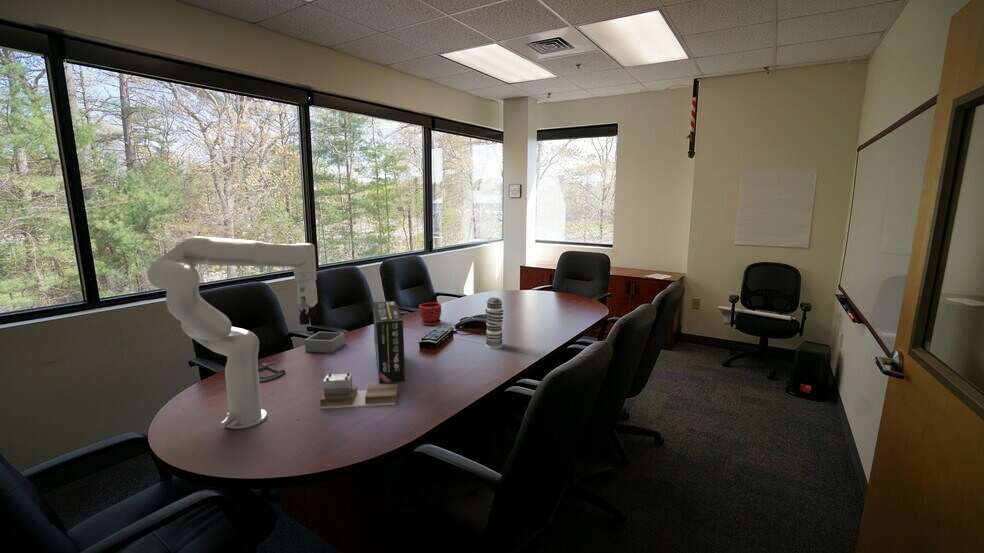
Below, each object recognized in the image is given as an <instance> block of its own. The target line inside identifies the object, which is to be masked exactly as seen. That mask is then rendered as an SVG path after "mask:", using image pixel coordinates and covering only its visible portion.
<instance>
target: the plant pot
mask: <svg viewBox="0 0 984 553" xmlns="http://www.w3.org/2000/svg"><path fill="white" fill-rule="evenodd" d="M418 310H419V316H420V318H421V324H423V325H424V326H429V327H430V326H436V325H439V324H440V323H441V322H442V320H441V315H442V304H441V303H440V302H426V303H422V304H419V306H418Z"/></svg>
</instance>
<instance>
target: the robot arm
mask: <svg viewBox="0 0 984 553" xmlns="http://www.w3.org/2000/svg"><path fill="white" fill-rule="evenodd" d="M316 261H317V260H316V247H315V244H313V243H310V242H298V243H294V244H293V243H292V244H291V243H290V244H289V243H288V244H286V243H272V242H271V243H270V242H265V241H264V242H263V241H258V240H251V239H237V238H222V237H209V236H208V237H206V236H196V235H195V236H191V237H188V238H186V239H184V240H183V241H182V242H180V243H179V244H177V245H175V246H174V247H173V248H171V249H170V250H169V251H168V252H166V253H165V254H163V255H162V256H161V257H159V258H158V259H157V260H156V261H155V260H154V262H153V263H152V264H151V265H150V266H149V268H148V270H147V280H148V282H149V283H150V284H151V285H153V287H155V288H157V289H161V290H166V292H165V293H166V294H165V296H166V297H165V299H166V302H165V303H166V307H167V310H168V311H169V313H170V314H171V315H172V316H173V317H174V318H175V319H176V320H178V321H180V325H181V329H182V331H183V332H184V334H186V335H187V336H189V338H191V339H193V340H195V342H197V343H198V344H200V345H202V346H203V347H206V348H207V349H209V350H210V351H212V352H214V353H216V354H218V355H222V356H225V357H227V360H226V361H227V362H226V364H225V369H224V377H225V387H226V395H227V396H226V398H227V406H228V407H227V408H228V412H227V414H226V416H227V417H225V419H224V420H223V421H221V422H220V423H219V428H221V429H224V428H227V429H231V430H232V429H233V430H239V429H241V430H242V429H247V428H251V427H254V426H257V425H259V424H261V423H262V422H264V421H265V420H266V419H267V417H268V413H267V411H266V410H265V409H263V408H262V402H261V400H262V399H261V390H260V389H261V388H260V382H259V376H260V375H259V371H258V367H259V366H258V363H259V360H258V359H259V358H258V357H259V351H260V350H259V349H260V341H259V338H258V336H257V335H256V334H255V332H252V331H250V330H248V329H245V328H241V327H235V326H233V324H232V322H231V319H229V317H228V316H227V315H226V314H224V313H223V312H221V311H220V310H219V309H217V308H216V307H214V306H213V305H212V304H210V303H209V302H207V300H205V299H204V298H203V297H202V296H201V294H200V290H199V289H200V288H199V287H200V274H199V272H198V270H197V269H196V267H197V266H198V265H205V266H227V267H228V266H229V267H230V266H233V267H234V266H235V267H284V268H286V267H289V268H291V267H292V268H293V273H294V274H293V275H294V281H295V282H297V283H296V285H297V286H296V288H297V289H296V290H297V291H296V293H297V294H296V296H297V306H298V308H299V309H298V310H299V311H298V313H299V314H298V316H299V324H300V325H302V326H303V325H310V319H311V318H315V319H316V318H317V311H316V304H318V292H317V282H316V281H317V267H316V266H317V263H316Z"/></svg>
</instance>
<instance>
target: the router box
mask: <svg viewBox="0 0 984 553" xmlns="http://www.w3.org/2000/svg"><path fill="white" fill-rule="evenodd" d="M372 316H373V331H374V332H373V335H374V346H375V347H374V348H375V358H376V368H377V374H378V375H377V376H378V383H379V384H392V383H398V382H404V381H406V364H405V363H406V362H405V361H406V360H405V340H404V338H405V337H404V319H403V317H402V314H401V311H400V309H399V306H398V303H397V301H396V300H393V301H392V300H391V301H387V300H386V301H374V302H373V305H372Z"/></svg>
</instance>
